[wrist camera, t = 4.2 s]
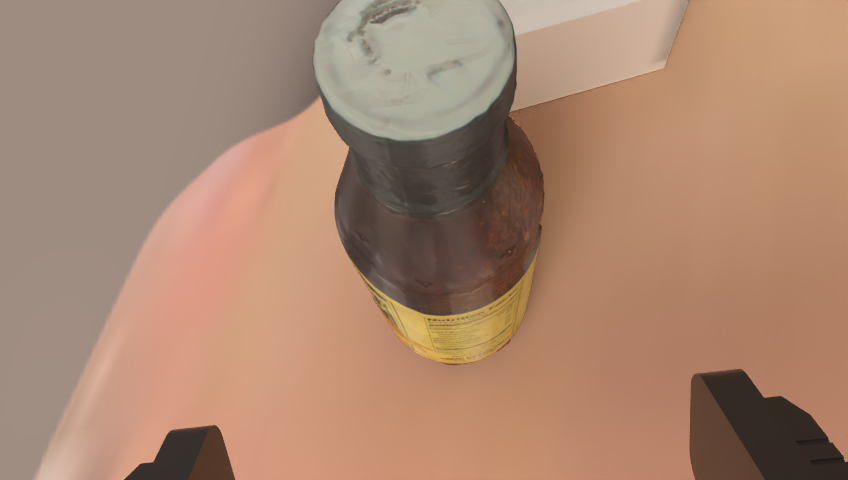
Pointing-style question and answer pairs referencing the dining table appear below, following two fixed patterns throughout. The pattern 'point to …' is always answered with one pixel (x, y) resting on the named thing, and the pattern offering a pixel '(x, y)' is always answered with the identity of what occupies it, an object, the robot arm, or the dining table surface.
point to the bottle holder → (588, 43)
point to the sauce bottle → (433, 168)
